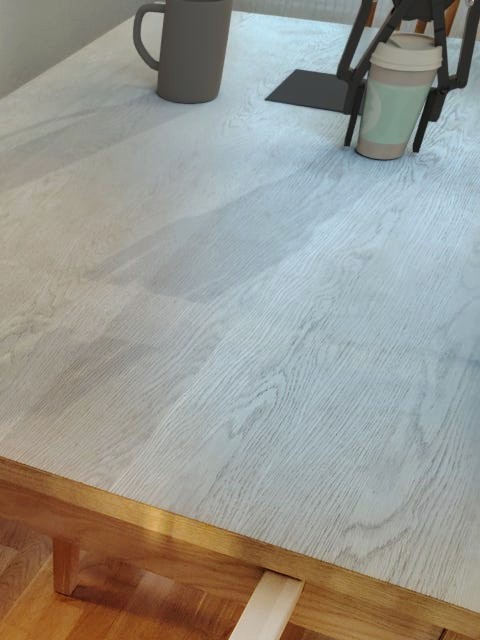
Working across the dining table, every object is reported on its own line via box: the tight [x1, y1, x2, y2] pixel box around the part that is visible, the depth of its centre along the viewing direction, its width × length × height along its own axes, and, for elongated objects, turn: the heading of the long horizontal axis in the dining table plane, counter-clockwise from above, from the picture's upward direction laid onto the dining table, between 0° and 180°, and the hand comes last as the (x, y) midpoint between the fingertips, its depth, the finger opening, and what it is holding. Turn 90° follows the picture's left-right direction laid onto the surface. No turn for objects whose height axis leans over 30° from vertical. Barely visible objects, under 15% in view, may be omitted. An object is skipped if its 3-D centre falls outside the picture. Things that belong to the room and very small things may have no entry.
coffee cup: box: [356, 32, 443, 160], centre depth 109 cm, size 9×9×12 cm
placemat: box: [264, 68, 367, 116], centre depth 128 cm, size 20×15×1 cm
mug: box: [132, 0, 234, 104], centre depth 126 cm, size 14×9×12 cm
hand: (381, 145), depth 113 cm, fingers closed on coffee cup, 8 cm apart
